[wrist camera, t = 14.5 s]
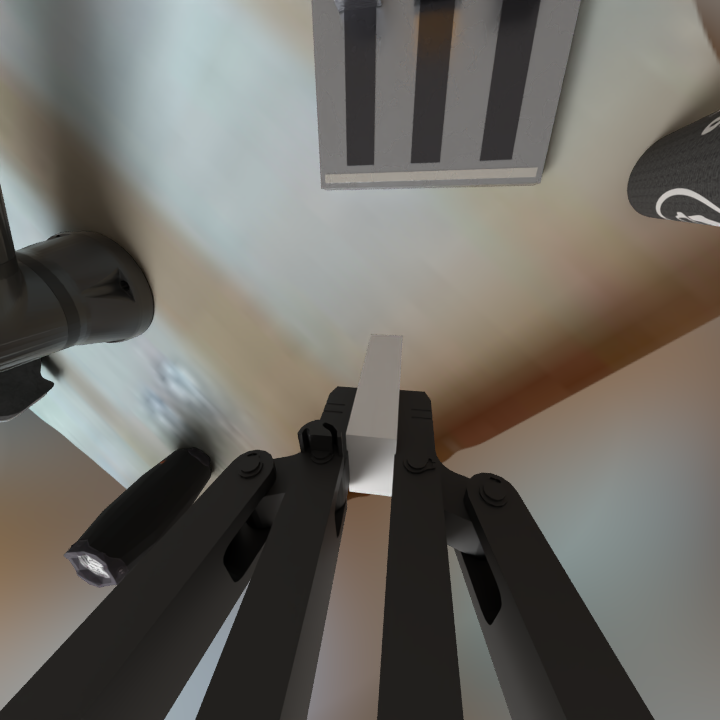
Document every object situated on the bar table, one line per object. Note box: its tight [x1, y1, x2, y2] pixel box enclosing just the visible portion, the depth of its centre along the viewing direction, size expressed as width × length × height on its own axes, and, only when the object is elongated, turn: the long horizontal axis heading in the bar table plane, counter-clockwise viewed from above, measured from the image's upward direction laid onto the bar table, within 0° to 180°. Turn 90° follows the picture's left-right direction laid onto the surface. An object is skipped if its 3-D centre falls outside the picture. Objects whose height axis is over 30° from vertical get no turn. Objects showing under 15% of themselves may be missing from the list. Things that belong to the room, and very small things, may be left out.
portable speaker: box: [64, 448, 211, 587], centre depth 47 cm, size 9×9×20 cm
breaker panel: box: [312, 0, 581, 190], centre depth 22 cm, size 20×18×7 cm
